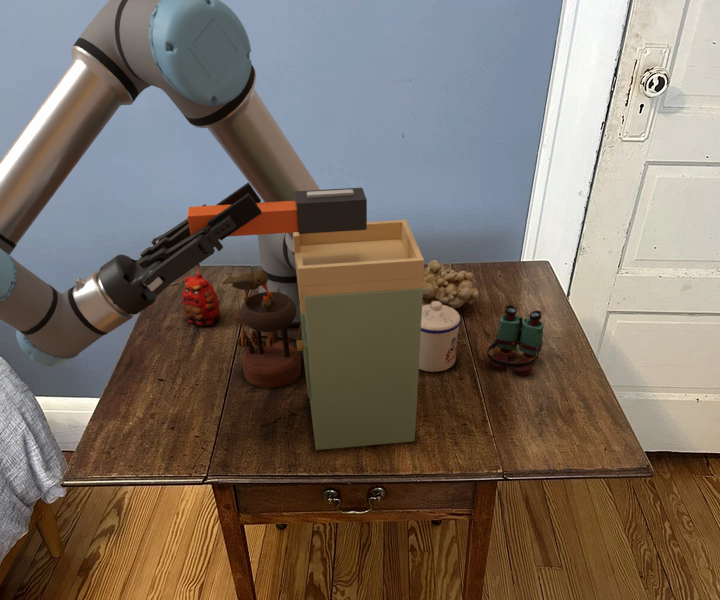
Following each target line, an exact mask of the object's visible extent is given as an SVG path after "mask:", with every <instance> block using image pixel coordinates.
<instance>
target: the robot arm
mask: <svg viewBox="0 0 720 600" xmlns="http://www.w3.org/2000/svg"><path fill="white" fill-rule="evenodd" d="M70 52H71V57H72V58H71V59H72V62H71V63H70V64H69V65H68V67H67V68H66V70H65V71H64V73H63V74H62V75H61V77H60V78H59V80H58V81H57V82H56V84H55V85H54V87H53V88H52V89H51V90H50V92H49V93H48V95H47V96H46V97H45V99H44V100H43V101H42V103H41V104H40V105H39V107H38V108H37V109H36V111H35V112H34V114H33V115H32V116H31V118H30V119H29V120H28V122H27V123H26V125H25V126H24V127H23V129H22V130H21V132H20V133H18V135H17V137H16V138H15V139H14V141H13V142H12V143H11V145H10V147H8V149H7V151H6V152H5V153H4V155H3V156H2V157H1V159H0V321H2V322H4V323H6V324H7V325H9V326H10V327H12V328H14V329H16V331H15V336H16V340H17V344H18V345H19V347H20V349H21V350H22V352H23V353H24V354H26V355H28V357H30V360H31V361H32V362H34V363H36V364H37V365H40V366H41V367H45V368H56V367H58V366H61V365H62V364H64V363H65V362H67V361H69V360H71V359H74V358H75V357H78V355H79V354H81V353H82V352H83V351H85V349H87V348H88V347H90V346H91V345H93V344H94V343H95V342H96V341H98V340H99V339H101V338H102V337H103V336H106V335H108V334H109V333H111V332H113V331H114V330H116V329H118V328H119V327H121V326H122V325H124V324H125V323H127V322H128V321H130V320H131V319H133V317H134V315H138V314H140V313H141V312H143V311H144V310H145V309H147V308H148V307H150V306H152V305H153V304H154V303H155V302H156V298H157V296H159V295H160V294H161V293H162V292H163V291H164V290H165V289H166V288H168V287H169V286H170V285H171V284H172V283H174V282H176V281H177V280H179V278H181V277H182V276H184V275H185V274H188V272H190V271H191V270H192V269H194V268H195V267H197V266H196V265H198V264H201V263H202V262H203V261H204V260H207V259H208V258H209V257H210V256H212V255H214V254H215V251H216V250H217V251H218V252H221V251H222V250H223V248H224V245H223V244H222V243H221V242H220V241H223V240H225V239H226V238H228V237H227V236H229V235H230V234H232V233H233V232H235V231H236V230H238V229H239V228H241V227H242V226H244V225H245V224H247V223H248V222H249V221H251V220H252V219H254V218H255V217H257V216H258V215H260V214H261V213H262V212H261V210H260V208H259V207H258V206H257V204H256V203H265V202H282V201H296V199H295V191H309V190H321V188H320V187H319V185H318V183H317V182H316V181H315V179H314V178H313V175H312V174H311V173H310V172H309V170H308V168H307V167H306V165H305V164H304V163H303V161H302V159H301V158H300V156H299V154H298V153H297V152H296V150H295V148H294V147H293V145H292V144H291V143H290V141H289V139H288V138H287V137H286V135H285V134H284V132H283V130H282V129H281V128H280V125H279V124H278V123H277V121H276V120H275V118H274V117H273V115H272V113H271V111H269V109H268V107H267V106H266V105H265V103H264V101H263V100H262V98H261V97H260V95H259V94H258V92H257V91H256V89H255V85H256V81H257V72H256V69H255V67H254V65H253V64H252V60H251V58H250V57H251V56H250V55H251V54H250V53H252V48H251V42H250V39H249V35H248V33H247V31H246V27H244V24H243V23H242V21H241V19H240V17H238V15H237V14H236V13H235V12H234V10H233V9H232V8H230V7H229V6H228V5H227V4H226V3H224V2H223V1H222V0H107V2H106V3H105V4H104V5H103V7H102V8H101V9H100V10H99V11H98V12H97V13H96V15H95V16H94V17H93V18H92V20H91V21H90V22H89V24H87V26H86V27H85V29H84V30H83V31H82V33H81V35H80V36H79V37H78V38H77V39H76V41H75V42H74V44H73V45H72V46H71V48H70ZM150 87H155V88H158V89H161V90H162V91H163V93H165V94H166V95H167V97H168V98H169V99H170V100H171V102H172V103H173V104H174V105H175V107H176V108H177V109H178V110H179V112H180V113H181V114H182V115H183V117H184V118H185V119H186V121H187V122H188V123H189V124H190V125H191V126H192V127H195V128H198V129H207V130H208V131H209V133H210V134H211V135H212V136H213V138H214V139H215V140H216V141H217V143H218V144H219V145H220V147H221V148H222V149H223V150H224V152H225V153H226V154H227V156H228V157H229V158H230V160H231V161H232V162H233V163H234V165H235V166H236V168H237V169H238V170H239V171H240V173H241V174H242V175H243V177H244V179H246V180H247V183H245V184H244V185H242V186H240V187H239V188H238V189H236V190H235V191H234V192H232V193H231V194H229V195H228V196H227V197H225V198H223V199H222V200H221V201H219V202H218V203H216V205H231V204H232V205H231V206H229V207H228V208H226V209H225V210H223V211H222V212H221V213H219V214H218V215H216V216H215V217H213V218H212V219H211V220H209V221H208V223H207V224H208V225H209V226H210V228H208V226H206V227H203V228H202V229H201V230H199V231H197V232H196V233H194V234H192V235H191V233H190V228H189V222H188V217H187V218H186V219H184V220H183V221H181V222H179V223H178V224H176V225H175V226H173V227H172V228H170V229H169V230H168V231H166V232H165V233H163V234H161V235H159V236H157V237H154V238H153V239H152V240H151V244H152V245H153V246H149V247H147V248H145V249H144V250H143V251H142V252H141V253H140V255H139V256H140V257H139V258H138V259H133V258H131V257H130V256H128V255H126V254H117V255H115V256H114V257H112V258H111V259H110V260H109V261H107V262H106V263H105V264H103V265H102V266H101V267H100V268H99V270H96V271H94V272H92V273H91V274H89V275H88V276H87V277H86V278H85V279H83V278H82V277H78V278H77V279H76V280H75V283H76V284H75V285H73V286H72V287H71V288H69V289H67V290H66V291H64V292H63V293H61V292H60V291H58V289H55V288H54V287H53V286H52V285H51V284H49V283H47V282H46V281H44V280H43V279H42V278H40V277H39V276H37V275H36V274H35V273H33V272H32V271H30V269H28V268H27V267H25V266H24V265H23V264H21V263H20V262H19V261H18V260H16V259H15V258H14V257H12V255H11V254H12V253H13V251H14V250H15V248H17V246H18V243H19V242H20V241H21V239H22V238H23V237H24V235H25V234H26V233H27V231H28V230H29V229H30V228H31V226H32V225H33V223H34V222H35V221H36V219H37V218H38V217H39V215H40V214H41V213H42V212H43V210H44V209H45V207H46V206H47V205H48V203H49V202H50V201H51V199H52V198H53V197H54V195H55V194H56V193H57V191H58V190H59V189H60V188H61V186H62V185H63V183H64V182H65V180H66V179H67V178H68V176H69V175H70V174H71V172H72V171H73V170H74V168H75V167H76V166H77V165H78V164H79V162H80V160H81V159H82V158H83V156H84V155H85V153H86V152H87V151H88V150H89V149H90V147H91V146H92V144H94V142H95V140H96V139H97V137H98V136H99V135H100V134H101V132H102V131H103V130H104V128H105V127H106V125H107V124H108V123H109V121H110V120H111V119H112V118H113V116H114V115H115V113H116V112H117V111H118V109H119V108H120V107H121V106H131V105H133V103H134V102H135V100H136V99H137V98H138V96H140V94H141V93H142V92H143V91H145V90H146V89H148V88H150ZM202 206H207V205H206V203H204V204H202ZM229 237H230V236H229ZM257 242H258V243H257V244H258V250H259V257H260V266H261V271H263V272H265V273H266V274H267V276H268V281H267V287H268V292H279V293H282V294H285V295H287V296H288V297H290V298H291V299H292V300H293V302H294V304H295V306H296V316H295V319H294V321H293V322H292V323H291V324H290V325H289V326H288V327H287V328H295V327H298V328H299V326H301V318H300V300H299V291H298V283H297V275H296V265H295V253H294V241H293V233H277V234H261V235H257ZM215 249H216V250H215ZM263 292H267V291H266V290H265V289H264V288H263V287H262V286H260V285H259V290H258V293H263Z"/></svg>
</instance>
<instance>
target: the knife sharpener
mask: <svg viewBox="0 0 720 600" xmlns="http://www.w3.org/2000/svg"><path fill="white" fill-rule="evenodd" d="M295 199H296V201H282V202H265V203H256V204H257V206H258V207H259V208H260V210H261V212H262V213H261V214H260V215H258V216H257V217H255V218H254V219H252V220H251V221H249V222H248V223H247V224H245V225H244V226H242V227H241V228H239V229H238V230H236V231H235V232H233V233H232V234H230V235H229V236H227V237H226V238H228V237H243V236H258V235H261V234H277V233H293V232H299V234H308V233H324V232H340V231H356V230H367V222H368V215H367V214H368V199H367V197H366V194H365V191H364V189H363V187H346V188H345V187H344V188H330V189H320V190H309V191H295ZM231 205H232V204H231ZM231 205H217V204H213V205H206V206H203V205H198V206H197V205H196V206H189V207H188V210H187V218H188V222H189V228H190V233H191V235H192V234H194V233H196V232H197V231H199V230H201V229H202V228H203V227H206V226H208V228H210V226H209V225H208V224H207V223H208V221H209V220H211V219H212V218H213V217H215V216H216V215H218V214H219V213H221V212H222V211H223V210H225V209H226V208H228V207H229V206H231Z"/></svg>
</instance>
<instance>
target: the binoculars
mask: <svg viewBox="0 0 720 600" xmlns="http://www.w3.org/2000/svg"><path fill="white" fill-rule="evenodd" d="M517 312H518V310H517V308H516V306H514V305H512V304H506V305H505V307H504V314H502V315H501V317H500V319H499V322H498V327H497V333H496V336H495V339H494V340H493V342H492V343H490V345H489V346H488V348H487V349H486V356H487V359H489V362H488V364H489V365H488V366H489V367H490V368H491V369H492V370H494V371H500V372H501V371H504V370H505V369H506V368H513V372H514V374H515V375H516V376H519V377H525V376H528V375H530V374H531V373H532V371H533V364H535V363H536V362H537V360H538V359H539V354H540V353H541V351H542V348H543V343H544V341H543V335H544V323H543V322H542V321H540V320H541V319H542V316H543V312H542V310H539V309H537V310H533V311H531V312H530V313H529V316H528V317H524V318H523V316H520V315H517ZM523 319H524V321H523ZM517 347H518V349H519V350H520V351H519V352H521V353H522V355H521V358H519V359H518V360H516V361H515V362H511V361H510V362H509V359H508V358H511V357H512V356H513V354H514V350H515V349H517ZM496 348H498V350H497V352H496V353H493V354H492V355H491V353H490V352H491V350H492V349H496Z"/></svg>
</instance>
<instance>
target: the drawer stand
mask: <svg viewBox="0 0 720 600" xmlns="http://www.w3.org/2000/svg"><path fill="white" fill-rule="evenodd" d="M293 241H294V253H295V265H296V275H297V283H298V291H299V300H300V318H301V330H302V333H301V339H300V340H297V341H296V342H297V344H296V349H297V351H299V352H302V355H303V362H304V363H303V364H304V372H305V380H306V388H307V390H306V391H307V397H308V398H309V404H310V413H311V414H310V415H311V421H312V431H313V438H314V447H315V451H321V450H332V449H334V450H335V449H345V448H356V447H365V446H376V445H377V446H378V445H388V444H389V445H390V444H399V443H401V444H402V443H411V442H415V441H416V427H417V410H418V409H417V408H418V390H419V389H418V388H419V372H420V369H419V354H420V336H421V318H422V299H423V276H424V269H425V258H424V256H423V255H422V252H421V249H420V248H419V246H418V242H417V240H416V238H415V236H414V234H413V232H412V230H411V226H410V225H409V223H408V220H407V219H395V220H379V221H367V230H356V231H340V232H324V233H308V234H299V232H293ZM296 342H295V343H296Z"/></svg>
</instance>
